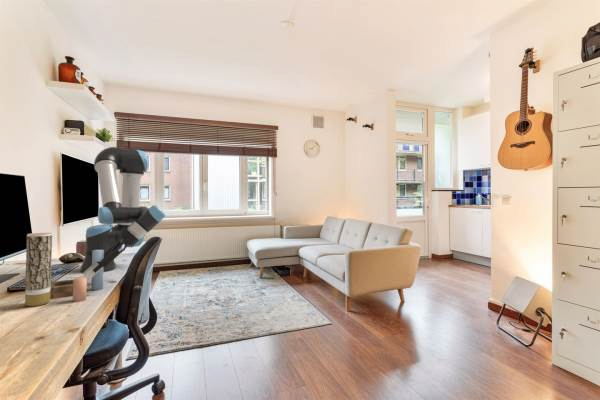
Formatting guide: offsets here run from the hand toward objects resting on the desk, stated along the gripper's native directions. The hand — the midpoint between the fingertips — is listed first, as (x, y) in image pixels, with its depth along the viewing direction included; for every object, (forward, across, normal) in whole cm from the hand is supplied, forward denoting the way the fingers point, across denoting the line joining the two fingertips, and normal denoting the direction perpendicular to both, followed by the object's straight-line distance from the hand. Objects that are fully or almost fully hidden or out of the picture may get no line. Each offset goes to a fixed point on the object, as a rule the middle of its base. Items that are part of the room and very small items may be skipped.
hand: (86, 276), depth 122 cm
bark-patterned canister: (+14, -9, +6) cm, 18 cm away
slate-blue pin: (+1, 0, -7) cm, 7 cm away
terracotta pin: (+6, -12, -3) cm, 14 cm away
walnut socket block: (+9, 0, +1) cm, 9 cm away
